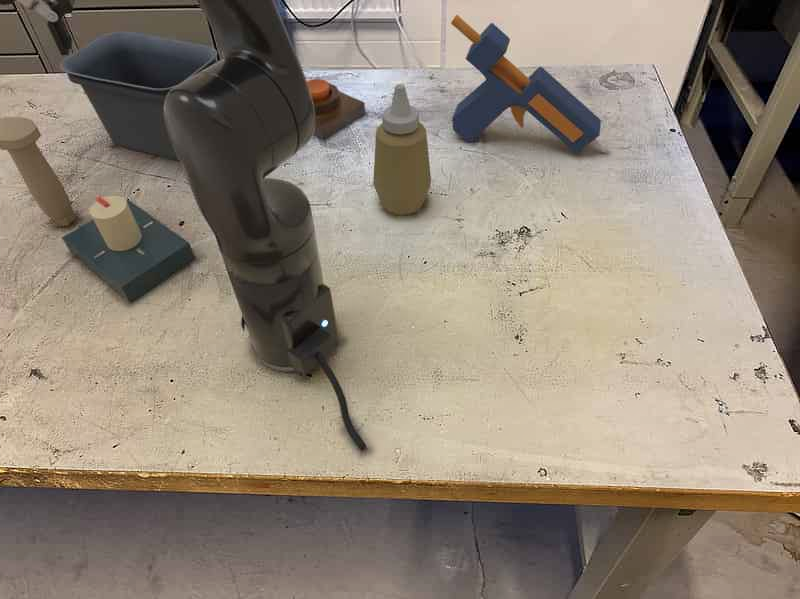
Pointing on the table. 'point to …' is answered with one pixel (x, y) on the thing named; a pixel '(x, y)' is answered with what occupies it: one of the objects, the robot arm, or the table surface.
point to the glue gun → (519, 95)
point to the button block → (336, 112)
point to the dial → (116, 223)
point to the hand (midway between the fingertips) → (26, 58)
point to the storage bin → (135, 84)
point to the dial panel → (132, 255)
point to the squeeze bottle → (401, 157)
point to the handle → (35, 169)
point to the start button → (319, 89)
